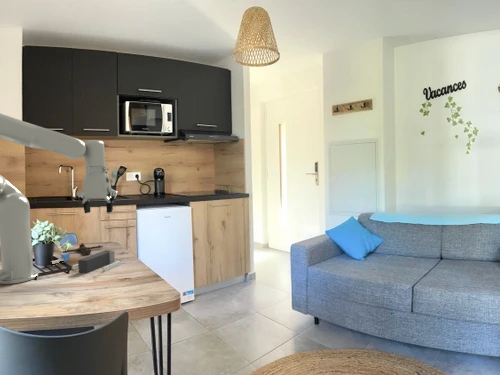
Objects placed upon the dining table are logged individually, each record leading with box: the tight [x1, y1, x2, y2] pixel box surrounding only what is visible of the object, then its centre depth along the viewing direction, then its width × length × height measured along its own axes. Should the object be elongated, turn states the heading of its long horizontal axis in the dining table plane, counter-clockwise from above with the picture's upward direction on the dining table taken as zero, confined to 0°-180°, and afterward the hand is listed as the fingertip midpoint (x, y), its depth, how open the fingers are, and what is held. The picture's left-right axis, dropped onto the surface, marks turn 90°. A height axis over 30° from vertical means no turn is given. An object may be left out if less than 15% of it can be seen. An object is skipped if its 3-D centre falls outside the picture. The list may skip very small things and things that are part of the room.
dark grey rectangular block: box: [77, 249, 116, 274], centre depth 141 cm, size 16×5×5 cm, turn 165°
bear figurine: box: [62, 243, 104, 257], centre depth 168 cm, size 18×4×14 cm
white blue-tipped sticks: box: [51, 252, 122, 272], centre depth 144 cm, size 12×29×3 cm, turn 75°
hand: (98, 212), depth 142 cm, fingers open, 9 cm apart
